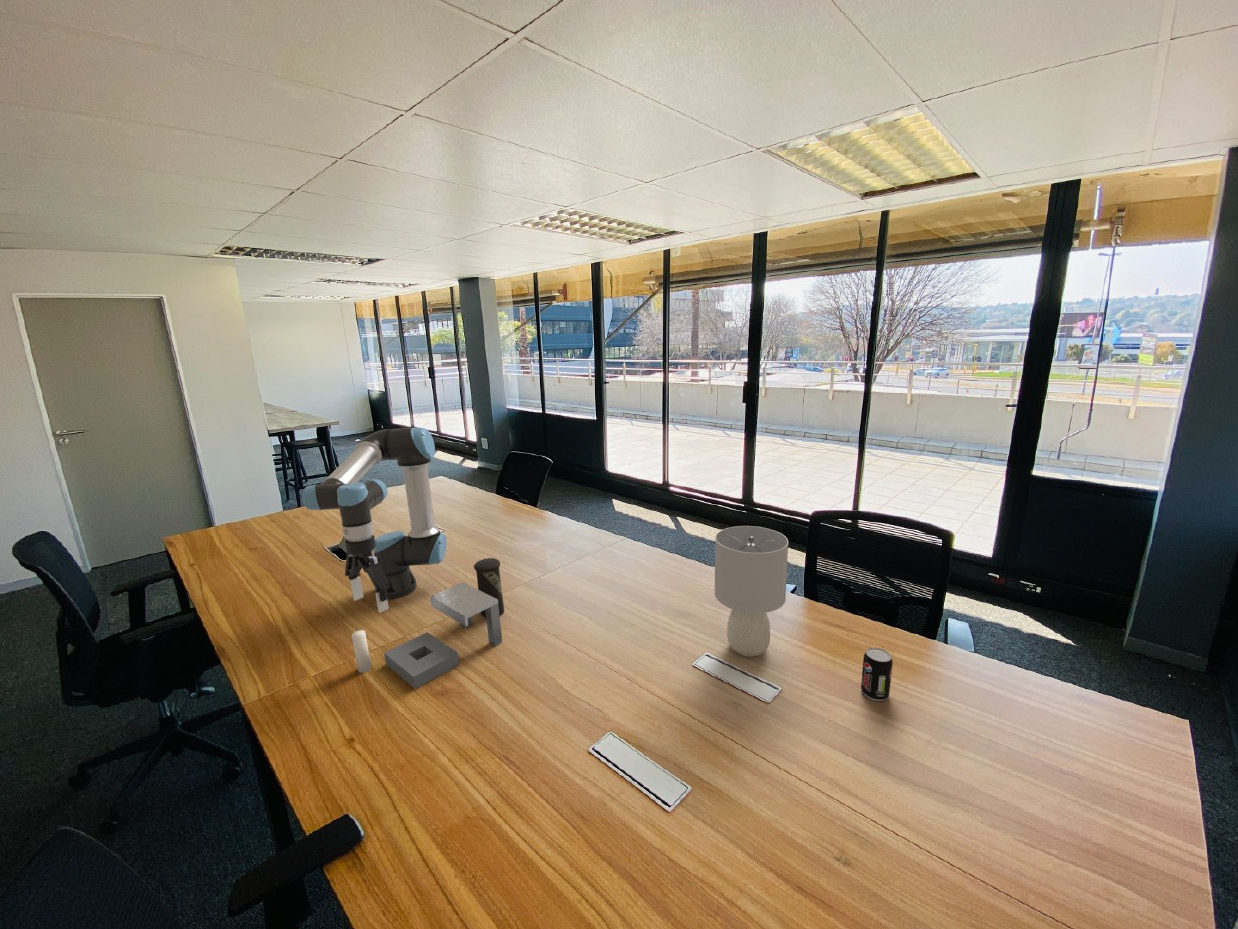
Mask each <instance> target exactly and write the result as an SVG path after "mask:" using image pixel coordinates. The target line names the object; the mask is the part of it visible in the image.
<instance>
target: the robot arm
mask: <svg viewBox="0 0 1238 929" xmlns="http://www.w3.org/2000/svg"><path fill="white" fill-rule="evenodd" d="M435 450H436V447H435V441H434V439H433V436H432V434H431V432H430V431H429V430H428V429H426V427H425V428H424V427H405V428H402V427H401V428H387V429H380V430H378V431H375V432H373V433H370V434H369V435H367V436H366V437H364V438H363V439H361V440H360V441H359V442H358V443H357V444H356V445H355V446H354V448H353V451H352V453H351V454H350V455H349V456H348V457H347V458H346V459H345V460H344V461H343V462H341V464H339V466H337V467H336V468H335V470H334V471H332V472H331V473H330V474H329V475H328V476H327V477H326V478H325V479H324V480H323V481H322V482H321V483H320V484H312V485H308V486H307V485H306V487H304V489H303V491H302V494H301V496H302V497H301V499H302V503H303V506H304V507H305V508H306V510H310V511H325V510H327V511H328V510H339V514H340V519H341V526H342V531H341V533H342V534H343V535H344V536H343V537H344V539H345V542H344V543H345V549H346V550H345V552H346V553H345V554H346V560H345V568H344V575H345V577H348V580H349V581H350V587H351V588H350V589H351V592H352V598H353V601H357V600H360V599H363V598H364V590H363V585H362V579H361V578H362V577H360V576H361V570H363V572H364V573H366V574H367V575H368V577H369V579H370V581H371V583H372V584H373V587H374V594H375V599H376V606H377V611H378V613H379V614H380V613H383V612H385V611H387V610H389V608H390V606H389V602H388V600H391V599H398V598H401V597H403V596H407V595H409V594H410V593H412V592H413V591H415V590H416V589H417V586H418V584H417V580H416V577H415V576H414V574H413V572H412V570H411V568H410V566H426V565H427V566H431V565H437V564H440V563H442V561H443V560H444V558H445V555H446V553H447V552H446V551H447V537H446V534H444V533H441V531H440V527H438V526H437V525H436V524H435V516H434V510H433V502H432V492H431V486H430V477H429V470H428V466H429V465H430V464H431V462H432V460H431V459H432V458H434V457H435V456H436V455H435V454H436V451H435ZM385 461H396V462H397V466H398V467H399V468H400V469H401V470H402V471H403V479H404V480H403V481H404V487H405V493H406V499H407V507H408V513H409V520H410V528H411V529H410V530H409V531H408V532H407V535H406V533H405V532H404V531H401V530H395V531H392V532H386V533H384V534H382V535H381V536H380V535H379V536H378V537H377V538H375V535H374V533H375V531H374V526H373V525H374V524H373V520H372V515H371V510H373V508H376V506H378V505H381V503H382V502H383V501H384V500H385V499H386V498H387V495H388V488H387V485H386V484H385V483H384V482H383V481H382V480H380V479H376V478H375V479H374V478H373V479H372V478H371V479H370V480H366V481H364V482H359V481H360V480H361V479H362V478H363V477H364V476H365V475H366V473H367V472H368V471H369V470H370V469H371V468H372V467H374V466H376V465H378V464H379V463H380V462H385ZM372 552H373V553H372Z"/></svg>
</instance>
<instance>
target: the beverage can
mask: <svg viewBox="0 0 1238 929" xmlns="http://www.w3.org/2000/svg"><path fill="white" fill-rule="evenodd" d="M862 660H863V661H862V670H861V671H862V672H861V682H860V691H861V693H863V695H864V696H865V697H866V698H868V699H869V700H872V701H874V702H883V701H886V700H888V698H889V697H890V693H891V685H892V684H891V682H892V675H893V674H892V673H893V664H894V661H893V658H892V655H891V654H890V653H889V652H888V651H887V650H885V649H883V648H879V647H869V648H866V650H865V653H864V654H863V659H862Z"/></svg>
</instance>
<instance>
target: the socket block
mask: <svg viewBox="0 0 1238 929" xmlns="http://www.w3.org/2000/svg"><path fill="white" fill-rule="evenodd" d="M383 656H384V660H385V665H386V666H387V667H388V668H390V670H392V671H393V672H394V673H395V674H396V675H398V676H399V677H400V678H401V679H403V680H404V681H405V682H406V683H408V685H409V686H411V687H412V688H414V690H417V689H419V688H420V687H422V686H424V685H425V684H428V683H429V682H431V681H433V680H434V679H436V678H439V676H441V675H443V674H445V673H447V672H448V671H450V670H452V669H454V668H455V667H457V666H459V665H460V659H459V658H460V657H459V652H458V651H456V649H453V647H450V646H449V645H447V644H446V643H444V642H443V641H441V640H440V639H438V638H437V637H436V636H435V635H432V634H431V633H429V632H428V631H427V632H425V633H422V634H420V635H418V636H416V637H414V638H411V640H408V641H406V642H404V643H402V644H400V645H398V646H396V647H394V648H391V649H389V650H388V651H385V652H384V655H383Z"/></svg>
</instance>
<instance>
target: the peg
mask: <svg viewBox="0 0 1238 929" xmlns="http://www.w3.org/2000/svg"><path fill="white" fill-rule="evenodd" d="M351 640H352V645H353V651H354V655H355V662H356V667H357V670H358V673H360V674H364V673H365V674H366V673H368V672H369V671H371V670H372V668H373V666H372V662H371V657H370V651H369V646H368V640H367V634H366V631H365V630H363V629H361V630H356V631H355V632H353V633H352V634H351Z"/></svg>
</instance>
